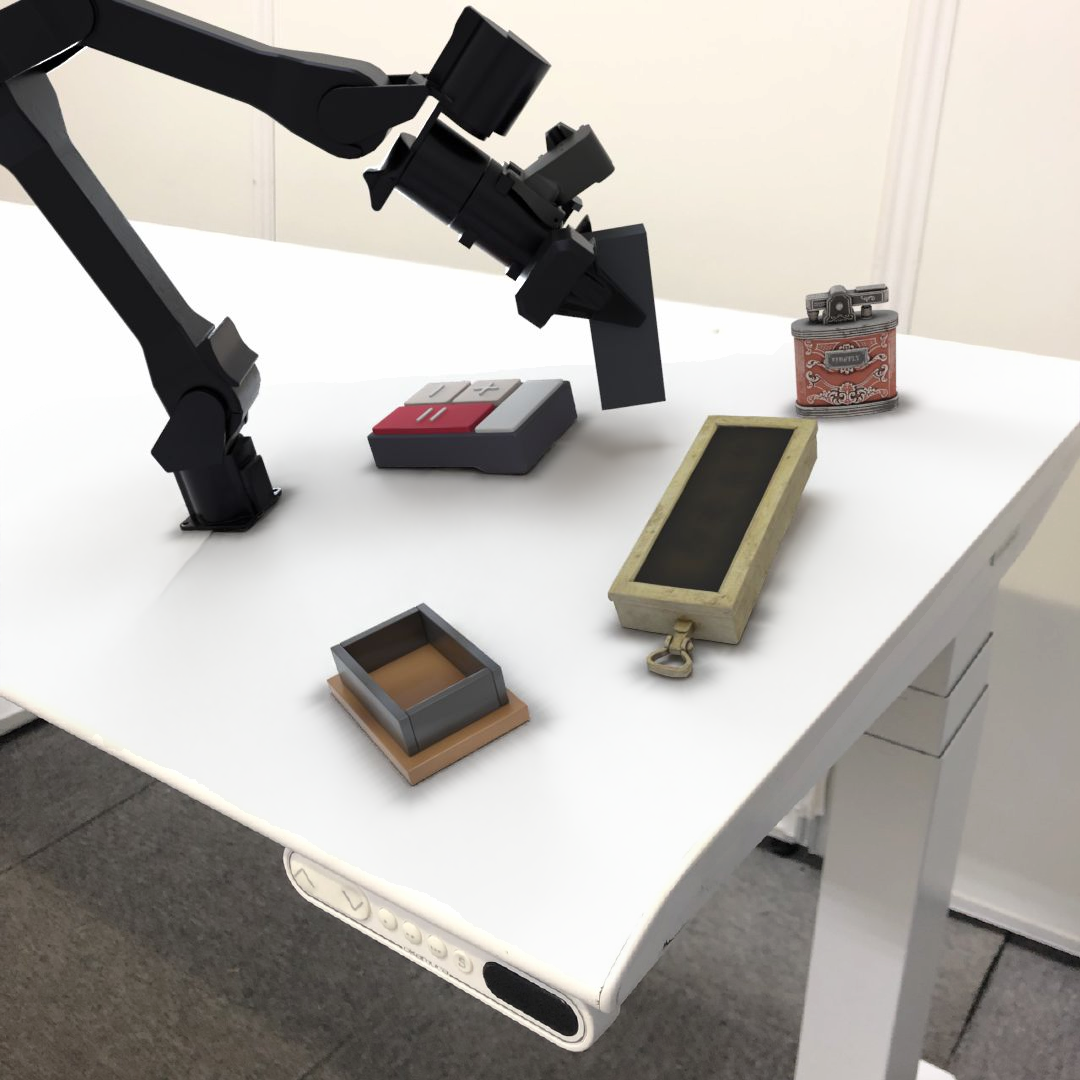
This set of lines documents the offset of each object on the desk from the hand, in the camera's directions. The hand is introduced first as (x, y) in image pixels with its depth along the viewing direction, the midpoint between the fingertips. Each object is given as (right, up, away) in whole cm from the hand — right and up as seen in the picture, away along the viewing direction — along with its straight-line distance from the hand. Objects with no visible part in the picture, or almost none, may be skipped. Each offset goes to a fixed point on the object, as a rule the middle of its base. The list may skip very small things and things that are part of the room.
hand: (640, 314), depth 79 cm
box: (+4, -19, -12) cm, 23 cm away
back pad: (0, -6, +3) cm, 7 cm away
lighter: (+17, -7, +5) cm, 19 cm away
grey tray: (-14, -27, -19) cm, 36 cm away
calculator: (-13, -9, +12) cm, 20 cm away
